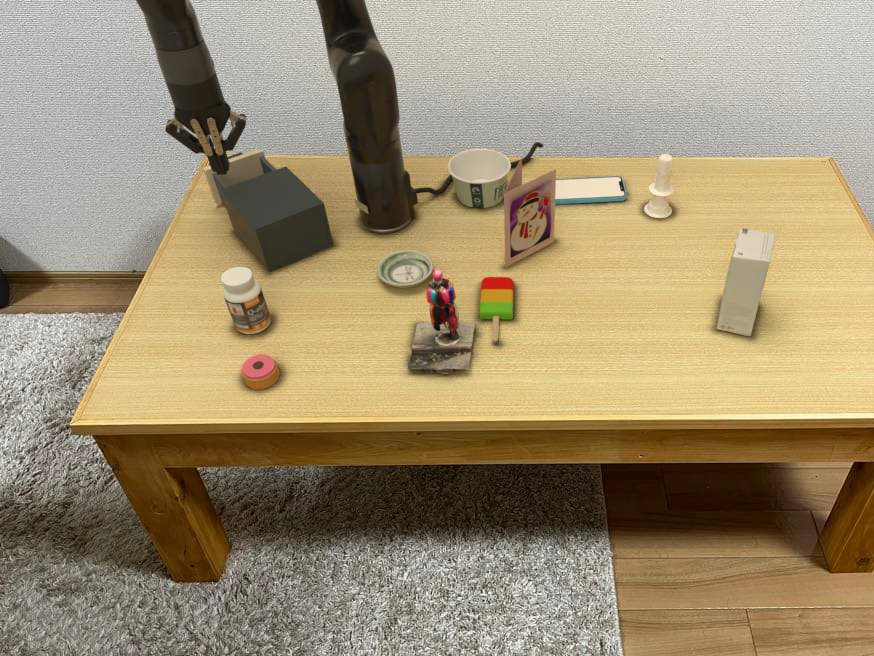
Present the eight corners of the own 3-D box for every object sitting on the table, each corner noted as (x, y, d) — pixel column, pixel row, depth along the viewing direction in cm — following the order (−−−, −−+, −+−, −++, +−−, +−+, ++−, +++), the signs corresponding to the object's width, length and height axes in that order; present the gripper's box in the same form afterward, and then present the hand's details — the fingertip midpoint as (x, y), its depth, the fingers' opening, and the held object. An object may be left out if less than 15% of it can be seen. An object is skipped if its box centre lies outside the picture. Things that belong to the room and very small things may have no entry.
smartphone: (547, 179, 153) (621, 175, 153) (547, 184, 154) (621, 180, 154) (550, 200, 148) (627, 196, 148) (550, 206, 149) (626, 202, 149)
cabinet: (234, 232, 141) (219, 189, 135) (297, 208, 147) (286, 166, 140) (269, 272, 134) (255, 229, 127) (334, 245, 139) (324, 202, 132)
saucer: (372, 268, 135) (370, 257, 133) (424, 255, 138) (423, 244, 136) (387, 301, 129) (385, 290, 127) (441, 287, 132) (440, 276, 130)
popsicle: (513, 284, 133) (513, 275, 131) (512, 345, 123) (512, 336, 121) (482, 284, 133) (481, 275, 131) (477, 345, 123) (477, 336, 121)
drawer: (204, 190, 149) (192, 156, 143) (259, 171, 154) (249, 137, 148) (244, 236, 139) (232, 201, 134) (301, 214, 144) (292, 179, 139)
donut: (270, 360, 120) (266, 348, 118) (285, 379, 117) (281, 367, 115) (239, 374, 118) (234, 362, 116) (253, 394, 115) (249, 382, 113)
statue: (418, 332, 126) (408, 252, 116) (475, 333, 126) (469, 252, 116) (408, 374, 118) (395, 292, 108) (468, 375, 118) (461, 293, 108)
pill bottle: (262, 338, 123) (245, 290, 116) (229, 332, 124) (210, 284, 116) (277, 314, 127) (262, 267, 119) (245, 309, 127) (227, 262, 120)
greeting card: (508, 269, 135) (507, 196, 124) (482, 249, 139) (478, 176, 128) (556, 243, 140) (559, 171, 129) (530, 225, 144) (530, 153, 133)
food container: (457, 175, 155) (455, 145, 150) (515, 180, 154) (515, 150, 149) (444, 209, 147) (441, 179, 142) (505, 215, 146) (505, 184, 141)
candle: (676, 208, 148) (686, 151, 139) (664, 221, 145) (673, 165, 136) (651, 199, 150) (659, 143, 141) (639, 212, 147) (646, 156, 138)
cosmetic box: (750, 337, 124) (772, 264, 113) (713, 329, 126) (731, 256, 114) (756, 305, 130) (778, 232, 119) (721, 297, 131) (739, 224, 120)
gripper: (139, 86, 114) (179, 188, 127) (232, 79, 115) (262, 180, 128) (146, 63, 118) (184, 164, 131) (235, 57, 120) (263, 157, 133)
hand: (222, 172), depth 130 cm, fingers closed
